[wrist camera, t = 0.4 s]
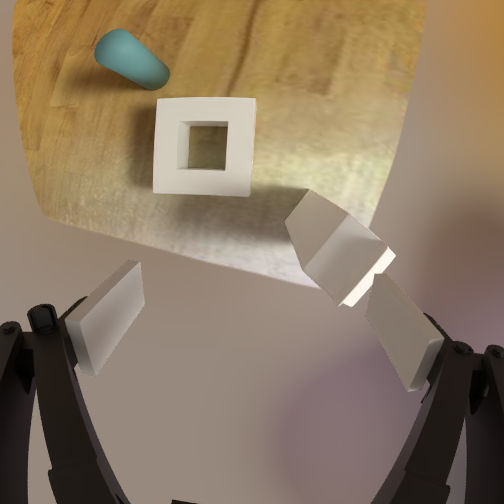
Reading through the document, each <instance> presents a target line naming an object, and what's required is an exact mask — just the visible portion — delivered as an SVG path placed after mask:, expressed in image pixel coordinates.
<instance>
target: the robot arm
mask: <svg viewBox="0 0 504 504" xmlns="http://www.w3.org/2000/svg"><path fill="white" fill-rule="evenodd" d="M144 305H145V301H144V293H143V284H142V275H141V264H140V261H131V260H128V261H127V262H126V263H125V264H124V265H122V266H121V267H120V268H119V269H118V270H117V271H116V272H114V273H113V274H112V275H111V276H110V277H109V278H108V279H107V280H106V281H104V282H103V283H102V284H101V285H100V286H99V287H98V288H97V289H96V290H95V291H93V292H92V293H91V294H90V295H89V296H86V297H83V298H81V299H79V300H78V301H77V302H76V303H74V305H73V306H71V307H70V308H69V309H68V311H66V312H65V313H64V314H63V315H62V316H61V317H60V318H59V319H58V318H57V314H56V311H55V308H54V306H53V305H51V304H40V305H37V306H35V307H33V308H31V309H30V310H29V311H28V313H27V316H28V319H29V322H30V326H31V328H32V332H22V329H21V326H20V324H19V323H18V322H14V321H11V322H6V323H3V324H2V325H1V326H0V504H28V486H27V483H28V482H27V480H28V450H29V438H30V427H31V419H32V411H33V404H34V397H35V392H36V388H37V396H38V403H39V410H40V416H41V420H42V426H43V431H44V436H45V440H46V445H47V449H48V453H49V457H50V461H51V464H52V469H51V470H48V476H49V481H50V484H51V488H52V491H53V494H54V496H55V500H56V502H57V504H130V502H129V501H128V499H127V497H126V496H125V494H124V492H123V490H122V489H121V486H120V485H119V483H118V481H117V479H116V477H115V475H114V473H113V471H112V469H111V466H110V464H109V462H108V460H107V458H106V456H105V453H104V451H103V449H102V447H101V444H100V442H99V439H98V437H97V435H96V432H95V429H94V427H93V424H92V422H91V419H90V416H89V413H88V411H87V408H86V405H85V402H84V399H83V396H82V393H81V389H80V386H79V383H78V379H77V376H76V373H75V370H74V367H75V366H76V364H77V363H78V364H79V367H80V370H81V372H82V373H84V374H88V375H92V376H97V374H98V372H99V371H100V370H101V368H102V366H103V365H104V363H105V362H106V360H107V359H108V357H109V356H110V354H111V353H112V351H113V350H114V348H115V347H116V345H117V344H118V342H119V341H120V339H121V338H122V336H123V335H124V334H125V332H126V330H127V329H128V328H129V326H130V325H131V323H132V322H133V321H134V319H135V318H136V316H137V315H138V314H139V312H140V311H141V309H142V308H143V306H144ZM365 316H366V318H367V320H368V322H369V323H370V325H371V327H372V328H373V330H374V332H375V333H376V335H377V337H378V339H379V341H380V342H381V344H382V346H383V347H384V349H385V351H386V353H387V355H388V357H389V358H390V360H391V362H392V364H393V366H394V368H395V369H396V371H397V373H398V375H399V376H400V379H401V381H402V382H403V384H404V386H405V388H406V390H407V392H409V391H415V390H421V389H422V387H423V385H424V383H425V381H426V379H427V380H428V382H429V383H430V386H429V388H428V390H427V392H426V394H425V396H424V398H423V399H422V401H421V403H422V405H421V408H420V410H419V413H418V416H417V418H416V420H415V422H414V425H413V427H412V429H411V432H410V434H409V436H408V438H407V440H406V442H405V444H404V446H403V448H402V450H401V452H400V454H399V456H398V458H397V460H396V462H395V464H394V466H393V467H392V470H391V471H390V473H389V475H388V476H387V478H386V480H385V482H384V483H383V485H382V487H381V488H380V490H379V491H378V493H377V495H376V496H375V498H374V499H373V501H372V502H371V504H446V501H447V499H448V496H449V493H450V486H449V485H446V481H447V478H448V475H449V472H450V469H451V466H452V463H453V460H454V457H455V453H456V450H457V446H458V442H459V439H460V435H461V431H462V427H463V422H464V418H465V422H466V443H467V471H466V492H465V503H464V504H504V348H503V347H501V346H499V345H498V346H497V345H489V346H488V347H487V348H486V350H485V352H484V354H477V353H474V351H473V349H472V348H471V347H470V346H469V345H468V344H466V343H463V342H460V341H452V339H450V337H449V336H448V335H447V334H446V332H445V331H444V330H443V329H441V327H440V326H439V325H438V324H437V322H436V321H435V320H434V319H433V318H432V317H431V316H429V315H427V314H426V313H422V311H421V310H419V308H418V307H417V306H416V305H415V304H414V303H413V302H412V301H411V299H410V298H409V297H408V296H407V295H406V294H405V293H404V292H403V291H402V290H401V289H400V288H399V287H398V285H397V284H396V283H395V282H393V280H392V279H391V278H390V277H389V276H388V275H387V274H379V273H375V274H374V279H373V284H372V289H371V293H370V297H369V302H368V307H367V310H366V315H365ZM171 504H196V503H189V502H184V501H178V500H172V503H171Z"/></svg>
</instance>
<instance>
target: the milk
mask: <svg viewBox="0 0 504 504" xmlns="http://www.w3.org/2000/svg"><path fill="white" fill-rule="evenodd" d="M284 223H285V225H286V228H287V230H288V233H289V236H290V238H291V241H292V244H293V246H294V249H295V252H296V254H297V257H298V260H299V262H300V265H301V268H302V270H303V272H304V273H306V274H307V275H308V276H309V277H310V278H311V279H312V280H313V281H314V282H315V283H316V284H317V285H318V286H320V287H321V288H322V289H323V290H324V291H325V292H326V293H327V294H328V295H329V296H330V297H331V298H332V299H333V301H334V303H335V305H336V306H340V305H341V304H342V303H344V304H346V305H348V306H351V307H352V306H353V305H354V304H355V303H356V302H357V301H358V300H359V299H360V298H361V297H362V295H363V294H364V293H365V292H366V291H367V290H368V288H369V287H370V286H371V285H372V284H373V279H374V274H375V273H379V274H381V273H382V272H383V271H384V270H385V269H386V267H387V266H388V265H389V264H390V263H391V261H392V260H393V259H394V258H395V256H396V255H395V254H394V253H393V252H392V251H391V250H390V249H389V248H388V245H387V244H385V243H384V242H383V241H381V240H380V239H379V238H378V237H377V236H376V235H375V234H373V233H372V232H371V231H370V230H369V229H368V228H367V227H365V226H364V225H363V224H362V223H361V222H359V221H358V220H357V219H356V218H355V217H353V216H352V215H351V214H350V213H348V212H346V211H345V210H343V209H342V208H340V207H339V206H337V205H335V204H334V203H332V202H331V201H329V200H327V199H326V198H324V197H322V196H321V195H319V194H317V193H316V192H314V191H312V190H311V189H309V190H308V192H307V193H306V194H305V196H304V197H303V198H302V199H301V201H300V202H299V203H298V204H297V206H296V207H295V208H294V210H293V211H292V212H291V213H290V215H289V216H288V217H287V218H286V220H285V221H284Z"/></svg>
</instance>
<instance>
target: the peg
mask: <svg viewBox="0 0 504 504" xmlns="http://www.w3.org/2000/svg"><path fill="white" fill-rule="evenodd" d="M94 55H95V59H96V61H97V62H98V63H99V64H101V65H103V66H105V67H107V68H109V69H111V70H112V71H114V72H116V73H118V74H120V75H122V76H124V77H126V78H128V79H129V80H131V81H133V82H135V83H137V84H139V85H140V86H142V87H144V88H146V89H148V90H157V89H160V88H161V87H163V86H164V85H165V84H166V83H167V81H168V79H169V75H170V73H169V69H168V67H167V66H166V65H165V64H164V63H163V62H161V61H160V60H159V59H158V58H157V57H156V56H155V55H154V54H153V53H152V52H150V51H149V50H148V49H147V48H146V47H145V46H144V45H143V44H141V43H140V42H139V41H138V40H137V39H136V38H135V37H133V36H132V35H131V34H130V33H129V32H127V31H126V30H123V29H116V30H112V31H110V32H108V33H107V34H105V35H104V36H103V37H102V38H101V39H100V40H99V42H98V44H97V45H96V48H95V53H94Z"/></svg>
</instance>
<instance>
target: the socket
mask: <svg viewBox="0 0 504 504" xmlns="http://www.w3.org/2000/svg"><path fill="white" fill-rule="evenodd" d="M255 120H256V98H234V97H188V98H166V99H157V111H156V124H155V141H154V165H153V193H162V194H195V195H218V196H237V197H250V193H251V182H252V166H253V151H254V135H255ZM190 126H221V127H228V135H227V152H226V169H211V168H188V157H189V138H190Z"/></svg>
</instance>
